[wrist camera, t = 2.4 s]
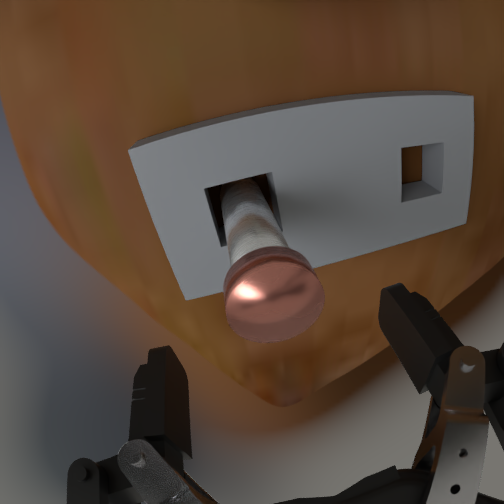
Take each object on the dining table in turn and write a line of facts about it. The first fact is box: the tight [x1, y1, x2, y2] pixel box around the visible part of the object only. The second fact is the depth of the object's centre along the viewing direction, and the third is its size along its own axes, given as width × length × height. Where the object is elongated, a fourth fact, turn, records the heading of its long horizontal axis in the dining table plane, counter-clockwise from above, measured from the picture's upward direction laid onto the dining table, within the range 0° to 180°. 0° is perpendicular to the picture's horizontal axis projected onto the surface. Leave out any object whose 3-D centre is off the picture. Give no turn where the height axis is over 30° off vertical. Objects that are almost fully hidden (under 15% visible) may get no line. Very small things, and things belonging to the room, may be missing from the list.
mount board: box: [128, 91, 474, 300], centre depth 21 cm, size 26×12×3 cm, turn 102°
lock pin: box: [220, 177, 325, 343], centre depth 17 cm, size 4×4×12 cm
